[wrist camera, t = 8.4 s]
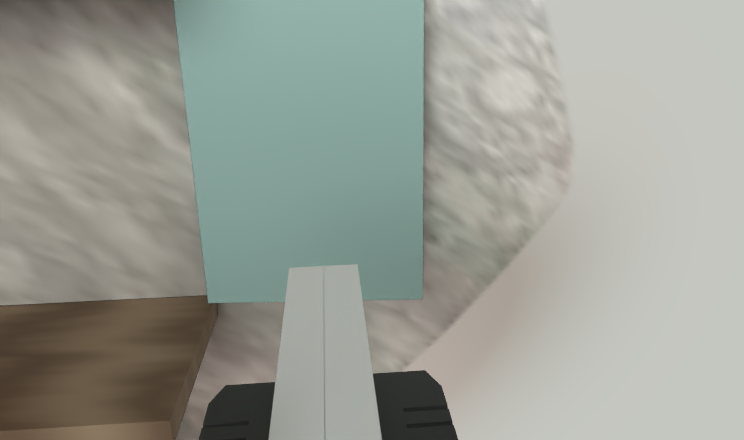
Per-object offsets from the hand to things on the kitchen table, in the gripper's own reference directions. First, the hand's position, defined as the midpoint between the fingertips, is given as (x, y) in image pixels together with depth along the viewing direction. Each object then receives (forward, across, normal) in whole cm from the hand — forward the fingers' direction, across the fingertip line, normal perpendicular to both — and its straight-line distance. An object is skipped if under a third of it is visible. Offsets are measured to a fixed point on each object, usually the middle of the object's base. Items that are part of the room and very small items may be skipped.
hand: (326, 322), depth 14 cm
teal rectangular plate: (+16, -6, 0) cm, 17 cm away
